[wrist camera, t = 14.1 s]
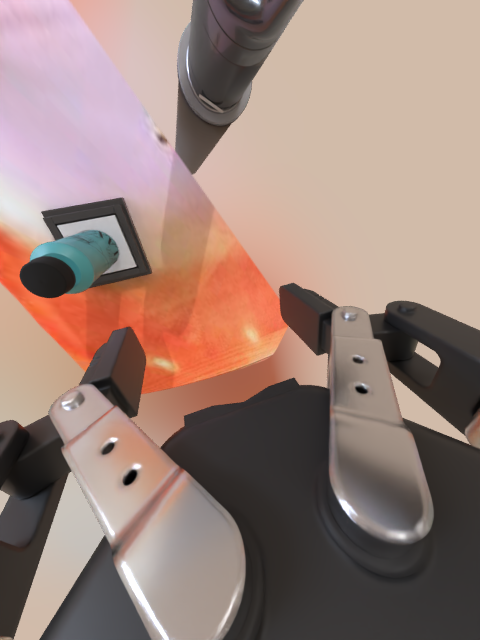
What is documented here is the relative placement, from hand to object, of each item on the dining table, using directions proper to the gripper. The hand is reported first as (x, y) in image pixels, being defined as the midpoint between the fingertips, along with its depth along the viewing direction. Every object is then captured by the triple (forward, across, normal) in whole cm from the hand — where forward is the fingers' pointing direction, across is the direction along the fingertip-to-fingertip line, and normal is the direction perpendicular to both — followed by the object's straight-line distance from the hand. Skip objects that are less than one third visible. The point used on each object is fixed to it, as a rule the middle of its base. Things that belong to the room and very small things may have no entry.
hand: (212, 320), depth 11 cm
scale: (+38, +15, -1) cm, 41 cm away
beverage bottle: (+35, +15, -1) cm, 38 cm away
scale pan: (+36, +15, -1) cm, 39 cm away
